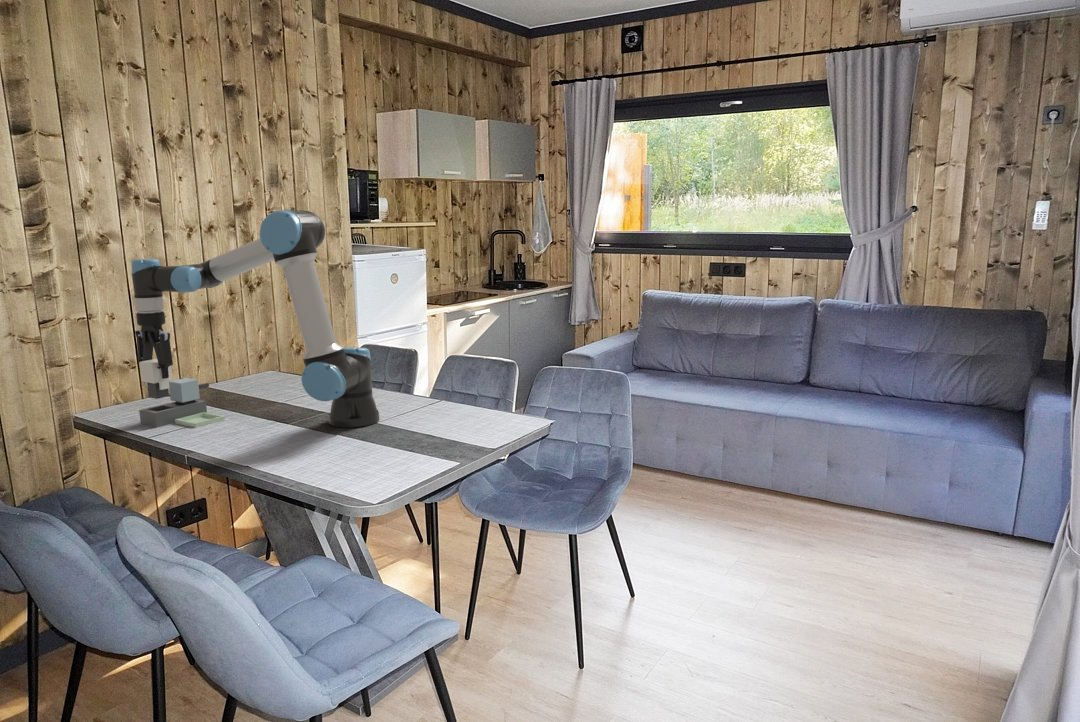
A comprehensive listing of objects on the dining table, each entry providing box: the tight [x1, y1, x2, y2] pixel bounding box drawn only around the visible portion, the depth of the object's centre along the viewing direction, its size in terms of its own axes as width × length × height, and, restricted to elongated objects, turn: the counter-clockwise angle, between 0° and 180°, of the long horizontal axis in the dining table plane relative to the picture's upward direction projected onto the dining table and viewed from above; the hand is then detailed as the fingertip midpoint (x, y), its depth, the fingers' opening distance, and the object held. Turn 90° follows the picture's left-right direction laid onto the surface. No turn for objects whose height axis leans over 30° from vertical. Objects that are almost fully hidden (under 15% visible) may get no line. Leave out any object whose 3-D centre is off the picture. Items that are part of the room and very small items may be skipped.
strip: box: [138, 377, 210, 429], centre depth 235 cm, size 8×21×12 cm, turn 150°
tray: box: [174, 412, 226, 429], centre depth 231 cm, size 10×10×2 cm
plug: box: [139, 358, 174, 400], centre depth 228 cm, size 6×6×11 cm
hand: (157, 387), depth 228 cm, fingers closed on plug, 6 cm apart
